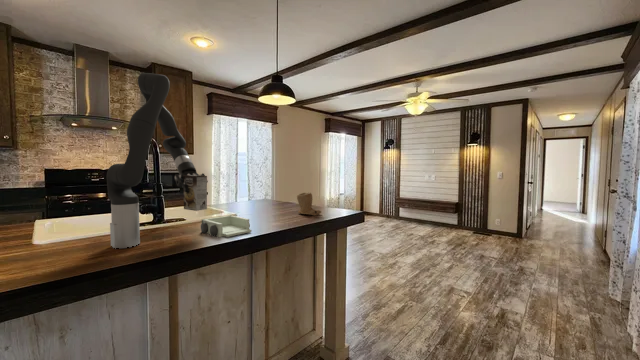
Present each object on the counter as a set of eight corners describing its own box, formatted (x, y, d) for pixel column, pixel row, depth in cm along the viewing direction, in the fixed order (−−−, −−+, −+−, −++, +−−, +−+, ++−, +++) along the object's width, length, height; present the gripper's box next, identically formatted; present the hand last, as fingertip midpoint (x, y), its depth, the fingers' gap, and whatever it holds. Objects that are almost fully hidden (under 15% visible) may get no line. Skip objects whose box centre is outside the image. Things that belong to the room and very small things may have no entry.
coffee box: (183, 209, 131) (182, 175, 130) (194, 207, 137) (194, 174, 136) (196, 211, 127) (195, 175, 126) (207, 209, 133) (207, 175, 132)
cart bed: (221, 239, 124) (221, 225, 123) (199, 231, 137) (199, 219, 137) (256, 231, 138) (256, 219, 137) (233, 225, 151) (233, 214, 151)
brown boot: (293, 214, 188) (293, 192, 187) (305, 212, 197) (305, 191, 196) (309, 217, 178) (309, 193, 177) (321, 214, 187) (322, 192, 186)
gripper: (172, 160, 130) (183, 187, 123) (201, 161, 141) (214, 185, 134) (167, 171, 134) (178, 198, 127) (197, 171, 145) (208, 195, 138)
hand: (196, 191), depth 131 cm, fingers closed on coffee box, 7 cm apart
